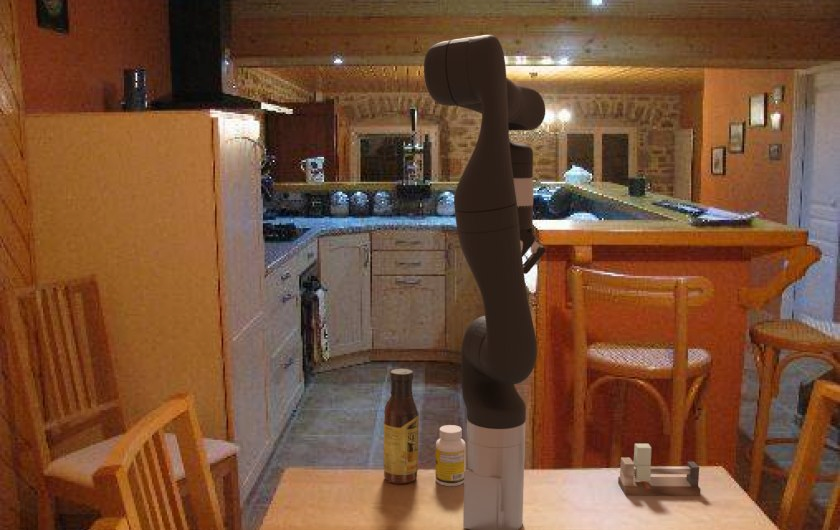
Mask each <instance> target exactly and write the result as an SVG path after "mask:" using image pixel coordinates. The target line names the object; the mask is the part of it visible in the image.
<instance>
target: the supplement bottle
mask: <svg viewBox="0 0 840 530" xmlns="http://www.w3.org/2000/svg"><path fill="white" fill-rule="evenodd" d="M462 437H463V429H462V428H461V426H459V425H454V424H447V425H446V424H445V425H442V426H440V427H439V438H438V439H437V440H436V441H435V481H436V483H437V484H439V485H441V486H444V485H445V486H446V487H457V486H461V485H462V484H463V485H464V472H465V471H466V441H465V439H463V438H462Z"/></svg>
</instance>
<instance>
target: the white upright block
mask: <svg viewBox="0 0 840 530" xmlns="http://www.w3.org/2000/svg"><path fill="white" fill-rule="evenodd" d="M633 451H634V453H633V460H632V461H633V463H634V466H636V467H637V468H636V474H634V477H635V479H636V480H650V477H652V474H651V466H652V464H651V463H652V462H651V461H652V446H651V445H650V444H649V443H634V448H633Z"/></svg>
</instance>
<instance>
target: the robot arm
mask: <svg viewBox="0 0 840 530" xmlns="http://www.w3.org/2000/svg"><path fill="white" fill-rule="evenodd" d="M504 53H505V52H504V50H503V47H502V43H501V42H500V40H499V39H498V37H496V36H495V35H493V34H484V35H477V36H471V37H463V38H455V39H450V40H444V41H441V42H437V43H435V44H433V45H431V46H430V47H429V48H428V50H427V51H426V53H425V57H424V59H423V60H424V61H423V77H424V83H425V86H426V90H427V92H428V94H429V96H430V97H431V99H432V100H433V101H434V102H435V103H437V104H439V105H441V106H446V107H447V106H450V107H459V108H463V109H467V110H470V111H473V112H476V113H479V114H481V123H480V130H479V134H478V138H477V141H476V143H475V147H474V150H473V151H472V153H471V156H470V158H469V160H468V162H467V164H466V166H465V167H464V170H463V172H462V174H461V176H460V179H459V180H458V183H457V185H456V189H455V191H454V196H453V206H454V216H455V224H456V232H457V236H458V241H459V245H460V248H461V251H462V253H463V256H464V258H465V261H466V262H467V265H468V267H469V269H470V271H471V273H472V275H473V278H474V280H475V282H476V284H477V287H478V289H479V292H480V295H481V298H482V303H483V310H484V315H482V316H480V317H477V318H476V319H474V320H473V321H472V322H471V323H470V324H469V326H468V327H467V328H466V330H465V332H464V335H463V338H462V343H461V355H460V356H461V358H460V366H461V393H462V394H461V395H462V399H463V402H464V404H465V409H466V441H465V444H466V471H465V472H464V483H463V513H462V514H463V515H462V516H463V517H462V518H463V524H462V525H463V526H462V528H464V529H466V530H520V529H521V528H522V526H523V521H524V520H523V519H524V518H523V515H524V490H525V489H524V482H525V481H524V479H525V452H526V451H525V450H526V419H527V418H526V417H527V416H526V415H527V409H526V408H527V407H526V404H525V401H524V400H523V398H522V397H521V396H520V395H521V394H519V393H518V391H517V388H516V386H515V385H518V384H521V383H523V382H524V381H525V380H527V379H528V378H529V377H530V375H531V374H532V372H533V370H534V368H535V366H536V362H537V357H538V342H537V337H536V332H535V327H534V322H533V318H532V313H531V309H530V303H529V299H528V294H527V288H526V279H525V275H526V274H527V275H528V273H529V272H530V271H531V270H532V269H533V267H534V266H535V265H536V264H537V262H538V261H539V260H540V259H541V257H542V256H543V255H544V254H545V253H546V248H545V247H544V246H543V245H540V243H538V242H537V241H536V236H535V235H534V232H533V226H534V225H533V223H534V222H533V221H534V220H533V219H534V217H533V215H534V182H533V174H534V173H533V172H534V169H533V168H534V150H533V148H532V147H531V146H529V145H527V144H524V143H519V142H514V141H512V140H511V139H510V131H526V132H527V131H533V130H537V128H539V127H540V126H541V125H542V123H543V122H544V119H545V116H546V104H545V101H544V98H543V96H542V95H541V94H540V93H539V91H538V90H536V89H533V88H530V87H526V86H522V85H518V84H515V83H514V82H513V81H512V80H511V79H509V78H508V77H507V69H506V59H505V54H504ZM530 248H531V249H530ZM529 250H530V252H531V254H530V256H528V258H527V259H526V260H525V262H523V257H524V256H525V255H526V253H528V251H529Z"/></svg>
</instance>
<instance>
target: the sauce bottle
mask: <svg viewBox="0 0 840 530" xmlns="http://www.w3.org/2000/svg"><path fill="white" fill-rule="evenodd" d="M389 378H390V387H391V388H390V397H389V399H388V401H387V402H386V403H385V406H384V411H383V412H384V421H383V476H384V479H385V480H386V481H387V482H389V483H392V484H397V485H404V484H408V483H409V484H410V483H413V482H414V481H416V479H417V477H418V471H419V431H420V429H419V424H420V423H419V421H420V419H419V418H420V417H419V415H420V414H419V411H418V408H417V405H416V403H415V400H414V396H413V379H414V373H413V370H411V369H407V368H397V369H396V368H394V369H392V370H391V371H390V377H389Z"/></svg>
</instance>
